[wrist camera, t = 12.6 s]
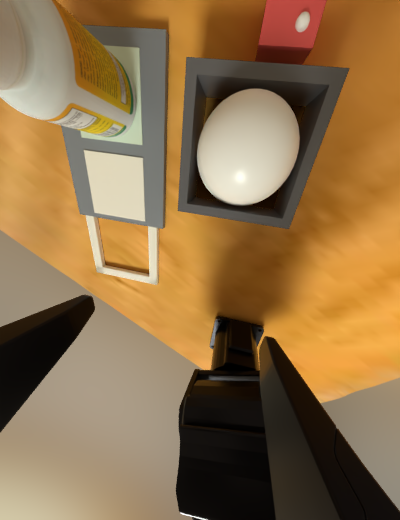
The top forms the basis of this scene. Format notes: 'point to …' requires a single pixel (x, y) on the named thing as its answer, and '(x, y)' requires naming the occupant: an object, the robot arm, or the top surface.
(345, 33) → the top surface
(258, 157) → the dome
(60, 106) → the supplement bottle
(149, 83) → the game board
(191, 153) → the dome housing
